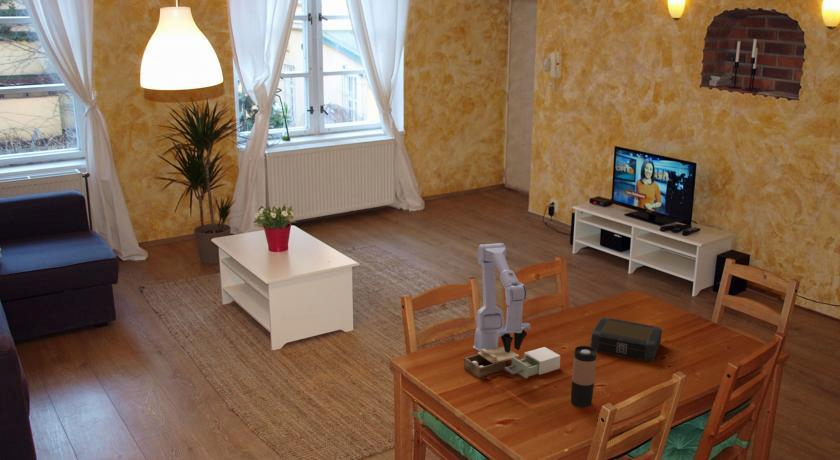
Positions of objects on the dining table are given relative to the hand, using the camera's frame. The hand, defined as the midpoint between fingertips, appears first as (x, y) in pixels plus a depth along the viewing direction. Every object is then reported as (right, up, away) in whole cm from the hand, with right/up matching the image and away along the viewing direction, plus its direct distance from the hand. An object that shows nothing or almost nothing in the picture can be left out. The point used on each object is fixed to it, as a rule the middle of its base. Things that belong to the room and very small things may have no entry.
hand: (512, 350), depth 301 cm
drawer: (+5, -10, +3) cm, 11 cm away
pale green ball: (-11, -9, +3) cm, 15 cm away
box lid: (-4, -3, +8) cm, 10 cm away
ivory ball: (-13, -8, +6) cm, 17 cm away
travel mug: (+22, -16, -16) cm, 32 cm away
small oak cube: (+5, -8, +4) cm, 11 cm away
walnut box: (-10, -9, +6) cm, 14 cm away
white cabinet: (+12, -9, +8) cm, 17 cm away
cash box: (+49, -4, +29) cm, 57 cm away
